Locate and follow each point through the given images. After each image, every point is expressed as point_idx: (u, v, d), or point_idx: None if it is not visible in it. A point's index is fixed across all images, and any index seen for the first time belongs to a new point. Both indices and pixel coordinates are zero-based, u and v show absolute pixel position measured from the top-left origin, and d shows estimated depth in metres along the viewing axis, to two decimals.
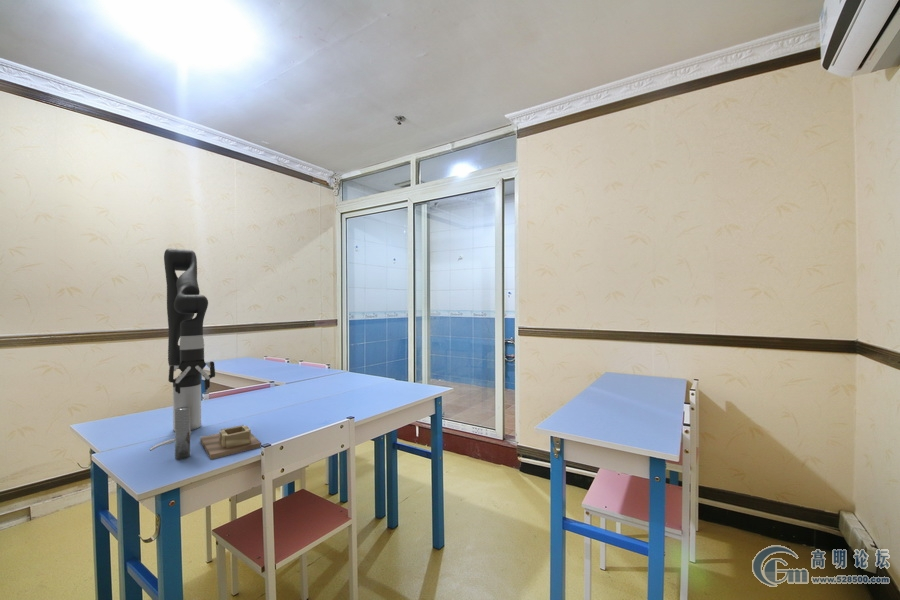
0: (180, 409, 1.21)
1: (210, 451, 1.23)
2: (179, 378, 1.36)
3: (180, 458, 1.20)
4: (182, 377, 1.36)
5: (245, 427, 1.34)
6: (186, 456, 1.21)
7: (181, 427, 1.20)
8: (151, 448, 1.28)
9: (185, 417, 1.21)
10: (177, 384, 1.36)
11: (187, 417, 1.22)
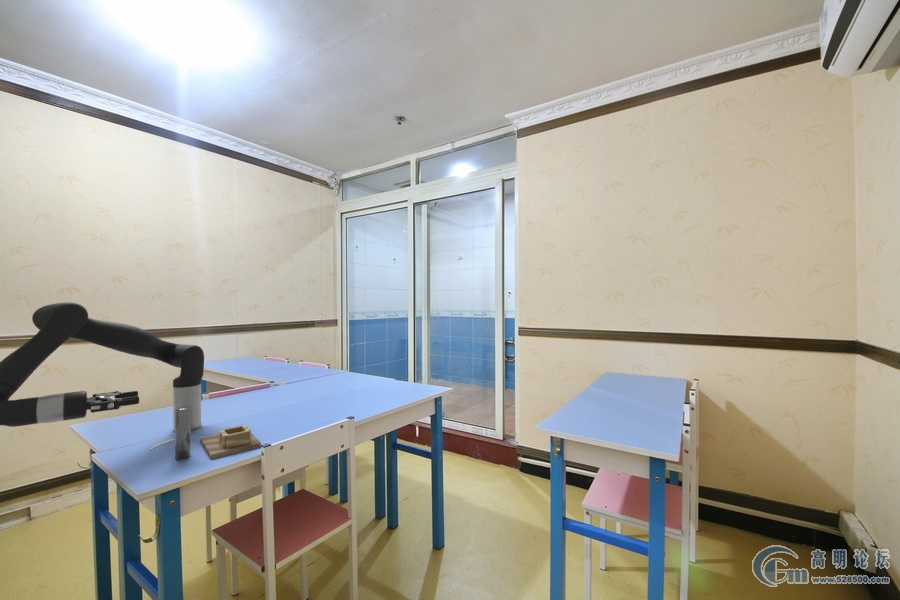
0: (180, 409, 1.21)
1: (210, 451, 1.23)
2: None
3: (180, 458, 1.20)
4: None
5: (245, 427, 1.34)
6: (186, 456, 1.21)
7: (181, 427, 1.20)
8: (151, 448, 1.28)
9: (185, 417, 1.21)
10: None
11: (187, 417, 1.22)
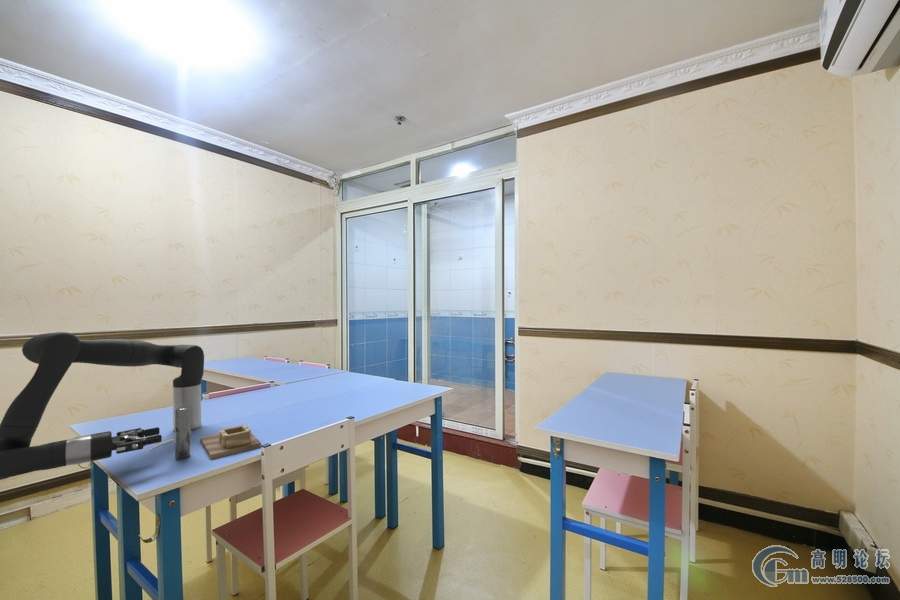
0: (180, 409, 1.21)
1: (210, 451, 1.23)
2: None
3: (180, 458, 1.20)
4: None
5: (245, 427, 1.34)
6: (186, 456, 1.21)
7: (181, 427, 1.20)
8: (151, 448, 1.28)
9: (185, 417, 1.21)
10: None
11: (187, 417, 1.22)
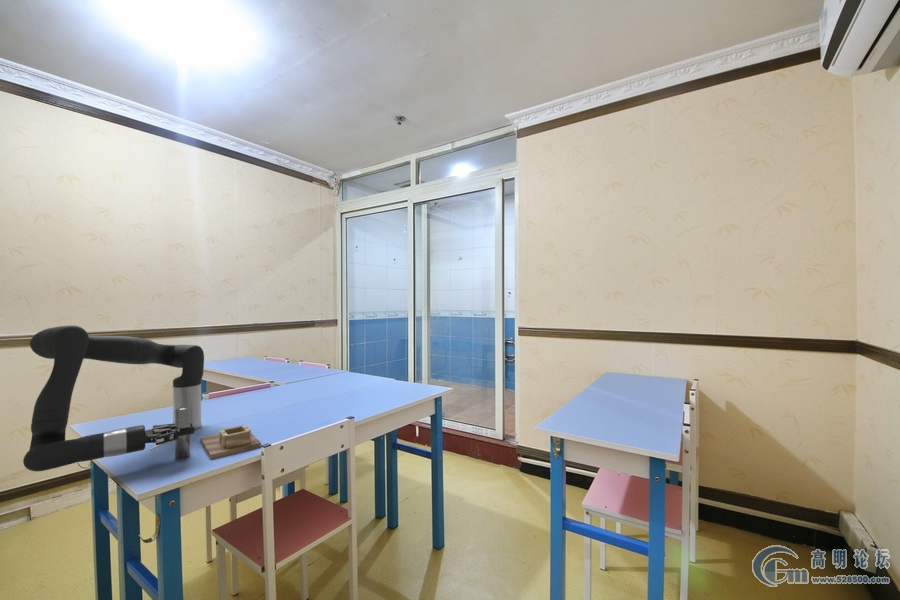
0: (180, 409, 1.21)
1: (210, 451, 1.23)
2: None
3: (180, 458, 1.20)
4: None
5: (245, 427, 1.34)
6: (186, 456, 1.21)
7: (181, 427, 1.20)
8: (151, 448, 1.29)
9: (185, 417, 1.21)
10: None
11: (187, 417, 1.22)
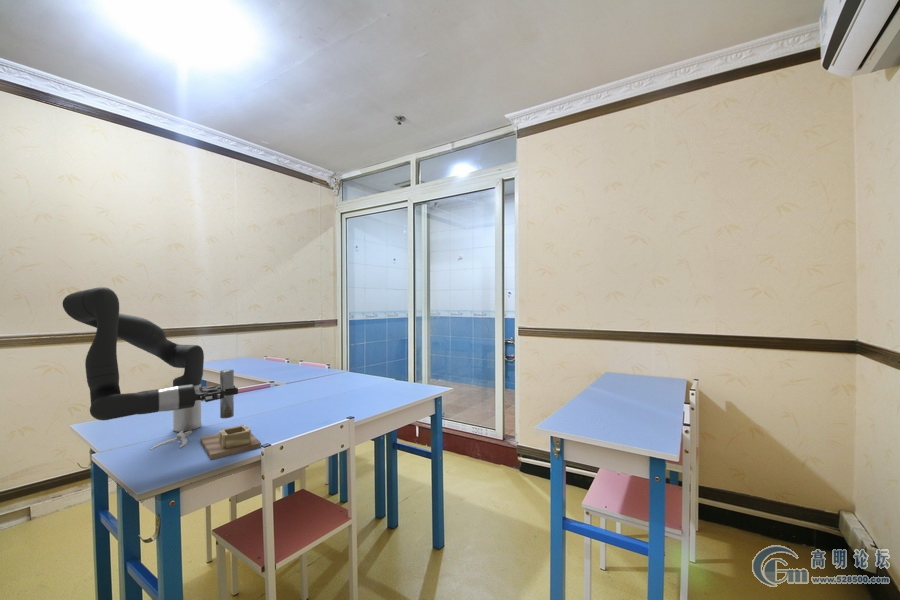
0: (225, 371, 1.29)
1: (210, 451, 1.23)
2: None
3: (225, 417, 1.28)
4: None
5: (245, 427, 1.34)
6: (230, 415, 1.29)
7: (226, 388, 1.28)
8: (152, 448, 1.29)
9: (230, 379, 1.29)
10: None
11: (231, 379, 1.29)
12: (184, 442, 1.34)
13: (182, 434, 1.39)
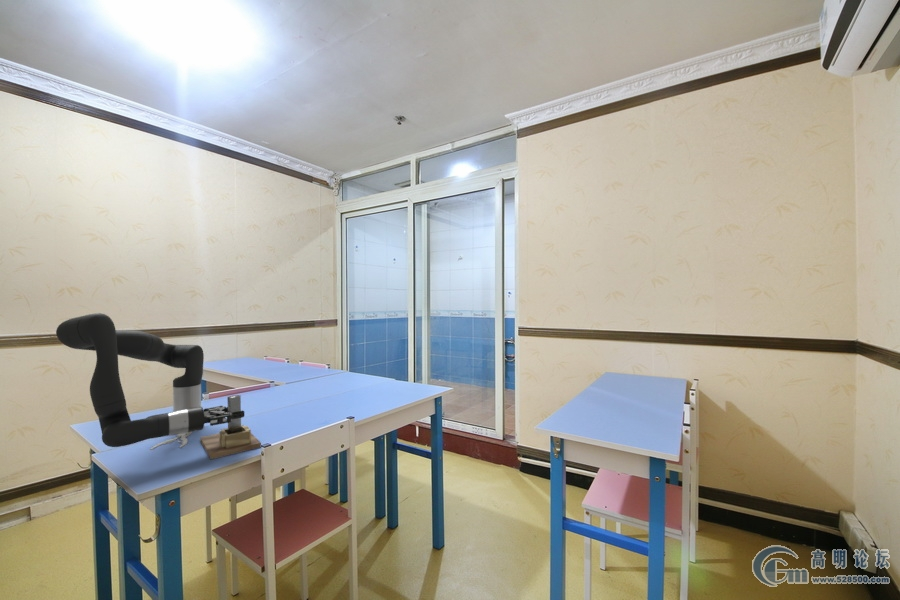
0: (232, 397, 1.30)
1: (210, 451, 1.23)
2: None
3: None
4: None
5: (245, 427, 1.34)
6: None
7: None
8: (152, 447, 1.29)
9: (237, 404, 1.30)
10: None
11: (238, 404, 1.31)
12: (184, 442, 1.34)
13: (182, 434, 1.39)
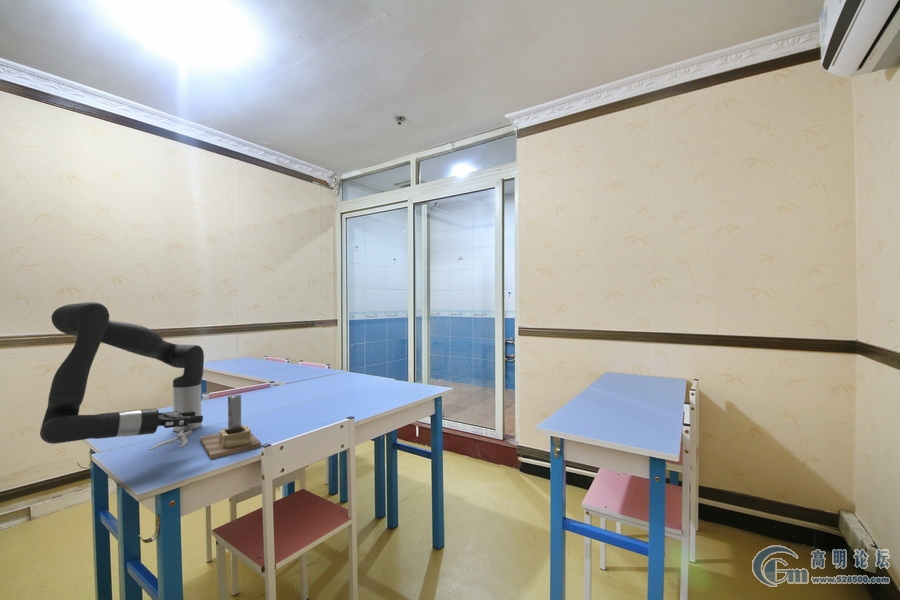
0: (233, 397, 1.30)
1: (210, 451, 1.23)
2: None
3: None
4: None
5: (245, 427, 1.34)
6: None
7: (233, 414, 1.29)
8: (152, 447, 1.29)
9: (237, 404, 1.30)
10: None
11: (239, 404, 1.31)
12: (184, 442, 1.34)
13: (182, 434, 1.39)
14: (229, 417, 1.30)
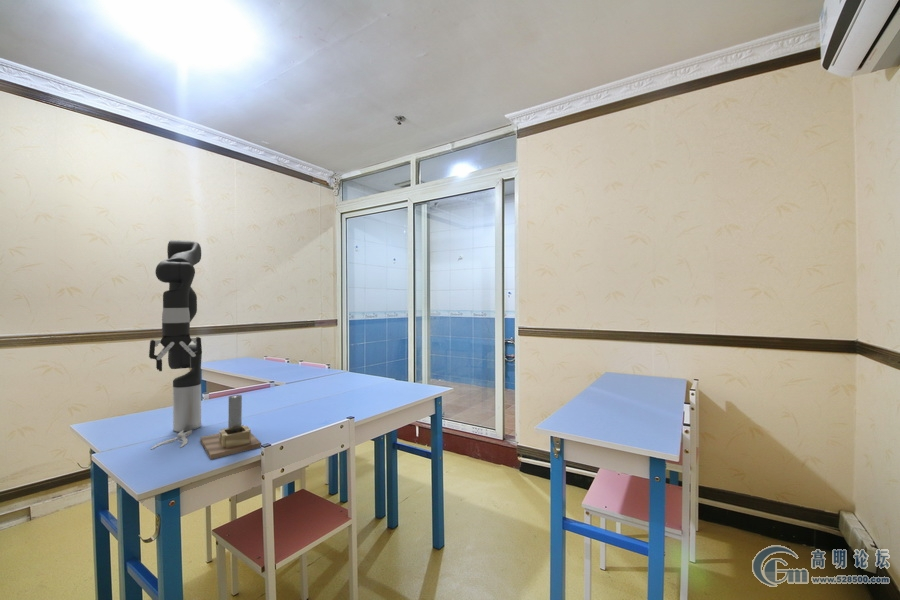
0: (233, 397, 1.30)
1: (210, 451, 1.23)
2: (161, 354, 1.22)
3: None
4: (164, 353, 1.22)
5: (245, 427, 1.34)
6: None
7: (234, 414, 1.29)
8: (152, 447, 1.29)
9: (238, 405, 1.30)
10: (159, 361, 1.22)
11: (239, 404, 1.31)
12: (184, 442, 1.34)
13: (182, 434, 1.39)
14: (229, 417, 1.29)
